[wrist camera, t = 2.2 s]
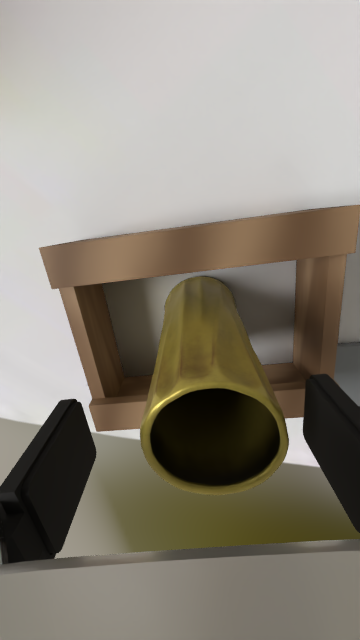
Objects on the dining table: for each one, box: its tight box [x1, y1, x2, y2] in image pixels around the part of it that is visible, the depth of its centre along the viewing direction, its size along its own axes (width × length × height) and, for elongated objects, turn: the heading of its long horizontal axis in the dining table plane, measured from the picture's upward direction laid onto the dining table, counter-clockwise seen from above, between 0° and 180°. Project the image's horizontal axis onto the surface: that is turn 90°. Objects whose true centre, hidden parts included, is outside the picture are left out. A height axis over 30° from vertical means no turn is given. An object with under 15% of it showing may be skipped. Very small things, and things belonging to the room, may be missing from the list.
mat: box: [334, 342, 360, 406], centre depth 24 cm, size 9×9×1 cm
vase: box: [140, 276, 289, 495], centre depth 16 cm, size 6×6×14 cm
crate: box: [39, 205, 360, 432], centre depth 19 cm, size 18×14×6 cm
